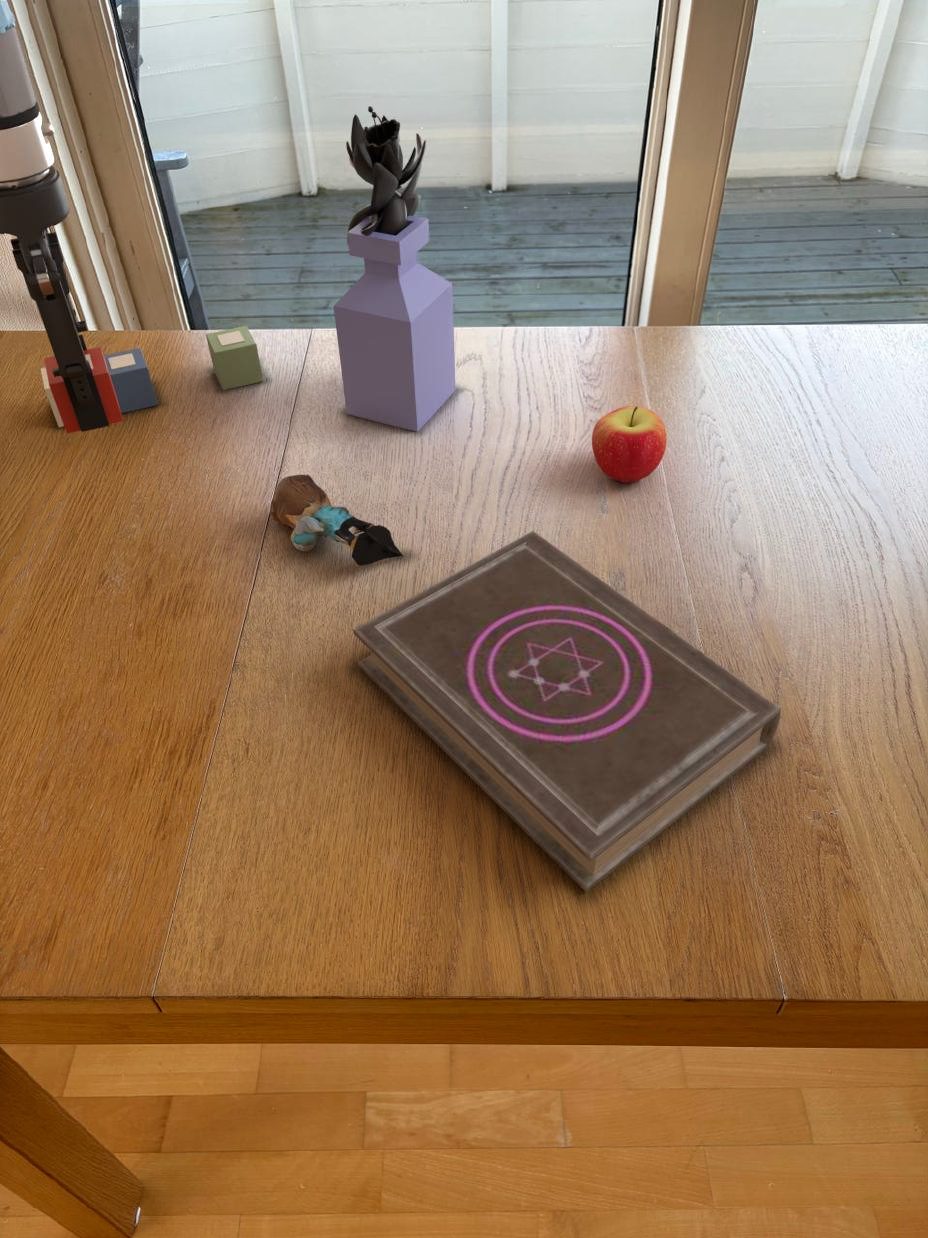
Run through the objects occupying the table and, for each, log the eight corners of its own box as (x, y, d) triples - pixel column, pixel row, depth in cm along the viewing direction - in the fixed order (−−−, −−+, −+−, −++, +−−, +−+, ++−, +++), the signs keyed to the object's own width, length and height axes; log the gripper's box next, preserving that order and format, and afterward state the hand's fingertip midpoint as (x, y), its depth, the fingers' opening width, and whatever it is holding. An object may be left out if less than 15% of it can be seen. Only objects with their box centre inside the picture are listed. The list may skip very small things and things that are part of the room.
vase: (389, 361, 130) (365, 76, 105) (465, 379, 126) (458, 87, 101) (335, 414, 121) (294, 114, 96) (415, 434, 117) (394, 128, 92)
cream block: (58, 427, 120) (44, 388, 116) (54, 406, 123) (39, 367, 120) (103, 417, 121) (90, 378, 117) (97, 396, 125) (84, 358, 121)
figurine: (309, 499, 108) (301, 454, 104) (405, 557, 100) (402, 511, 96) (257, 530, 104) (247, 485, 100) (353, 593, 96) (347, 548, 92)
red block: (66, 433, 94) (48, 383, 90) (61, 406, 97) (43, 356, 94) (123, 421, 95) (107, 371, 91) (116, 394, 99) (100, 345, 95)
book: (358, 666, 89) (352, 629, 86) (535, 565, 99) (536, 527, 95) (586, 893, 72) (591, 857, 68) (772, 743, 82) (785, 705, 78)
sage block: (222, 390, 125) (214, 351, 121) (214, 371, 129) (205, 333, 125) (263, 381, 127) (256, 342, 123) (253, 362, 130) (246, 324, 126)
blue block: (115, 414, 122) (102, 375, 118) (109, 394, 125) (96, 355, 121) (158, 405, 123) (147, 366, 119) (151, 384, 127) (140, 346, 123)
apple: (594, 497, 107) (601, 421, 100) (584, 454, 113) (590, 379, 106) (667, 494, 107) (679, 418, 100) (653, 451, 113) (664, 376, 106)
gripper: (68, 203, 75) (142, 450, 91) (47, 133, 87) (116, 361, 103) (-33, 219, 73) (62, 469, 89) (-39, 145, 85) (45, 376, 101)
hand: (91, 411), depth 96 cm, fingers closed on red block, 5 cm apart
